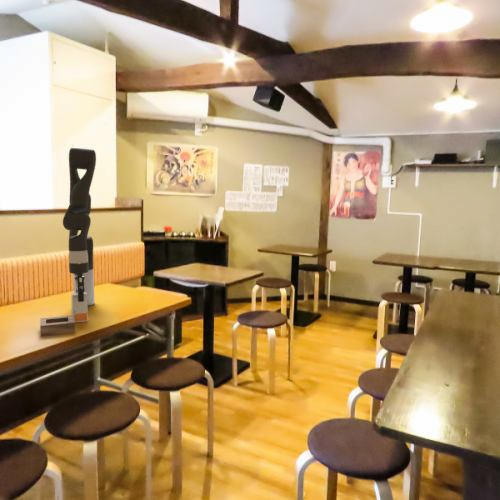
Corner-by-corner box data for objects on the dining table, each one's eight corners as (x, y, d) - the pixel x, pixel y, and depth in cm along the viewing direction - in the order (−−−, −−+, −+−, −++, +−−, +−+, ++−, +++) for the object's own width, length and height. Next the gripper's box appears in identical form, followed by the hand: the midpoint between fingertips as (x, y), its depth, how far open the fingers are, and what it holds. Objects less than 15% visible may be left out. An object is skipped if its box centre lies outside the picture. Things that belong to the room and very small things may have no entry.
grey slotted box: (40, 328, 174) (40, 318, 174) (73, 324, 179) (72, 315, 179) (40, 336, 164) (40, 326, 164) (74, 332, 169) (74, 322, 169)
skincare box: (73, 323, 181) (71, 295, 180) (72, 320, 185) (70, 293, 183) (88, 321, 184) (87, 293, 182) (87, 318, 188) (86, 291, 186)
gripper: (67, 259, 186) (69, 296, 188) (69, 264, 173) (71, 304, 175) (86, 258, 189) (87, 295, 191) (89, 262, 176) (91, 302, 178)
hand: (80, 299), depth 183 cm, fingers open, 8 cm apart
